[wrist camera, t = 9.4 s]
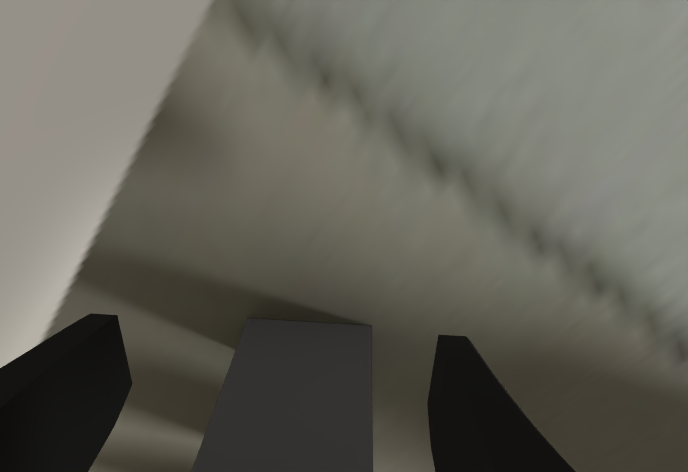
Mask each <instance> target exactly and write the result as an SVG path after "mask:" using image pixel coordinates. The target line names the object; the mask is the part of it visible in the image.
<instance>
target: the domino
mask: <svg viewBox="0 0 688 472" xmlns="http://www.w3.org/2000/svg"><path fill="white" fill-rule="evenodd" d="M191 472H373V430H372V326H368V325H352V324H336V323H319V322H303V321H287V320H270V319H254V318H247V321H246V324H245V327H244V329H243V332H242V335H241V338H240V340H239V343H238V346H237V348H236V351H235V354H234V357H233V359H232V362H231V365H230V368H229V370H228V373H227V376H226V378H225V381H224V384H223V387H222V389H221V392H220V395H219V398H218V400H217V403H216V406H215V408H214V411H213V414H212V417H211V419H210V422H209V425H208V428H207V430H206V433H205V436H204V438H203V441H202V444H201V447H200V449H199V452H198V455H197V458H196V460H195V463H194V466H193V468H192V471H191Z"/></svg>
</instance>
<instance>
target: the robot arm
mask: <svg viewBox="0 0 688 472" xmlns="http://www.w3.org/2000/svg"><path fill="white" fill-rule="evenodd" d="M131 386H132V380H131V375H130V371H129V366H128V362H127V357H126V353H125V348H124V344H123V339H122V335H121V330H120V325H119V321H118V316H117V315H104V314H89V315H87V316H86V317H84V318H82V319H80V320H78V321H77V322H75V323H73V324H71V325H70V326H68V327H66V328H65V329H63V330H62V331H60V332H58V333H57V334H55V335H53V336H52V337H50V338H49V339H47V340H45V341H44V342H42V343H41V344H39V345H37V346H36V347H34V348H33V349H31V350H30V351H28V352H26V353H24V354H23V355H21V356H20V357H18V358H16V359H15V360H13V361H11V362H10V363H8V364H7V365H5V366H3V367H2V368H0V472H88V471H89V469H90V467H91V466H92V464H93V462H94V460H95V459H96V457H97V455H98V454H99V452H100V450H101V448H102V447H103V445H104V443H105V441H106V440H107V438H108V436H109V435H110V433H111V431H112V429H113V427H114V426H115V423H116V421H117V419H118V417H119V414H120V412H121V410H122V408H123V405H124V403H125V400H126V398H127V395H128V393H129V391H130V388H131ZM428 416H429V429H430V441H431V450H432V455H433V460H434V466H435V471H436V472H575V471H574V470H573V469H572V468H571V466H570V465H569V464H568V463H567V462H566V461H565V460H564V459H563V458H562V457H561V456H560V455H559V454H558V453H557V451H556V450H555V449H554V448H553V447H552V446H551V445H550V443H549V442H548V441H547V440H546V439H545V438H544V437H543V436H542V434H541V433H540V432H539V431H538V430H537V429H536V427H535V426H534V425H533V424H532V423H531V421H530V420H529V419H528V418H527V417H526V415H525V414H524V413H523V412H522V410H521V409H520V408H519V407H518V405H517V404H516V403H515V402H514V400H513V399H512V398H511V396H510V395H509V394H508V393H507V391H506V390H505V389H504V387H503V386H502V385H501V383H500V382H499V381H498V379H497V378H496V377H495V375H494V374H493V373H492V371H491V370H490V368H489V367H488V366H487V364H486V363H485V361H484V360H483V359H482V357H481V356H480V354H479V353H478V351H477V350H476V349H475V347H474V346H473V344H472V343H471V341H470V340H469V339H468V338H467V337H466V336H449V335H438V341H437V348H436V354H435V360H434V366H433V372H432V378H431V385H430V391H429V397H428Z"/></svg>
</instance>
